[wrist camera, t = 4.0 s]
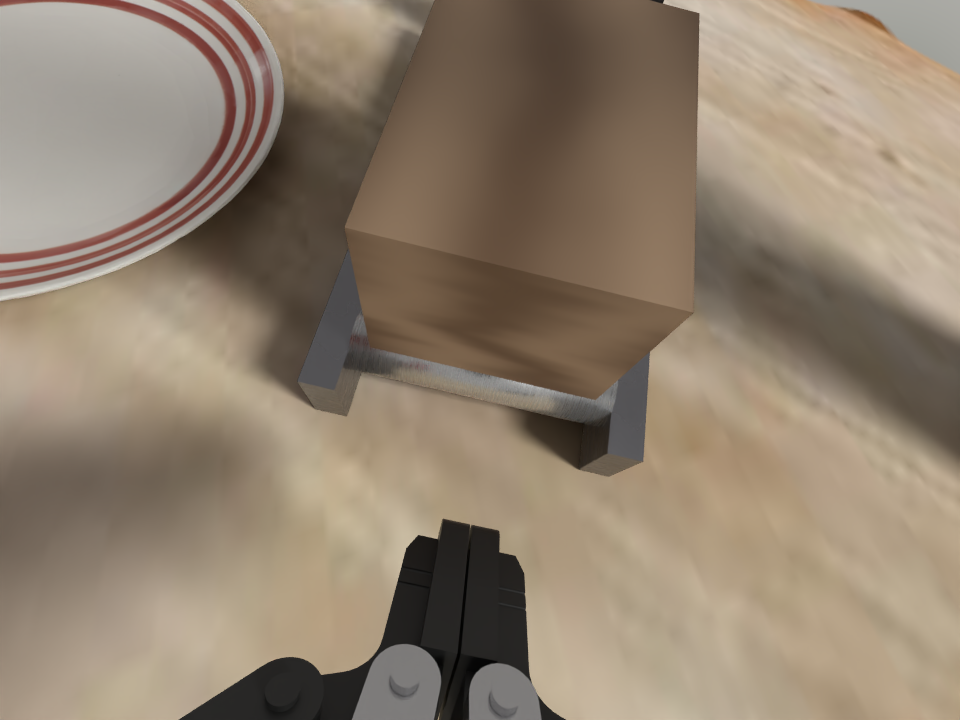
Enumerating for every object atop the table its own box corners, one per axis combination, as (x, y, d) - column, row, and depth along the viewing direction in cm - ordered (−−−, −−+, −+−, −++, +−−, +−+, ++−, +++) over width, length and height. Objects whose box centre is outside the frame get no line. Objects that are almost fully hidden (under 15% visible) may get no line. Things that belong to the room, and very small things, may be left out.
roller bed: (643, 85, 36) (710, -53, 28) (608, 476, 24) (708, 433, 16) (449, 35, 36) (459, -122, 28) (315, 409, 24) (262, 328, 16)
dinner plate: (119, -61, 36) (92, -119, 33) (383, 142, 31) (380, 97, 28) (-350, 115, 26) (-452, 55, 23) (-58, 452, 21) (-137, 434, 18)
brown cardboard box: (620, 165, 26) (699, 13, 19) (595, 400, 21) (693, 312, 13) (444, 120, 26) (455, -52, 19) (369, 347, 20) (344, 227, 13)
